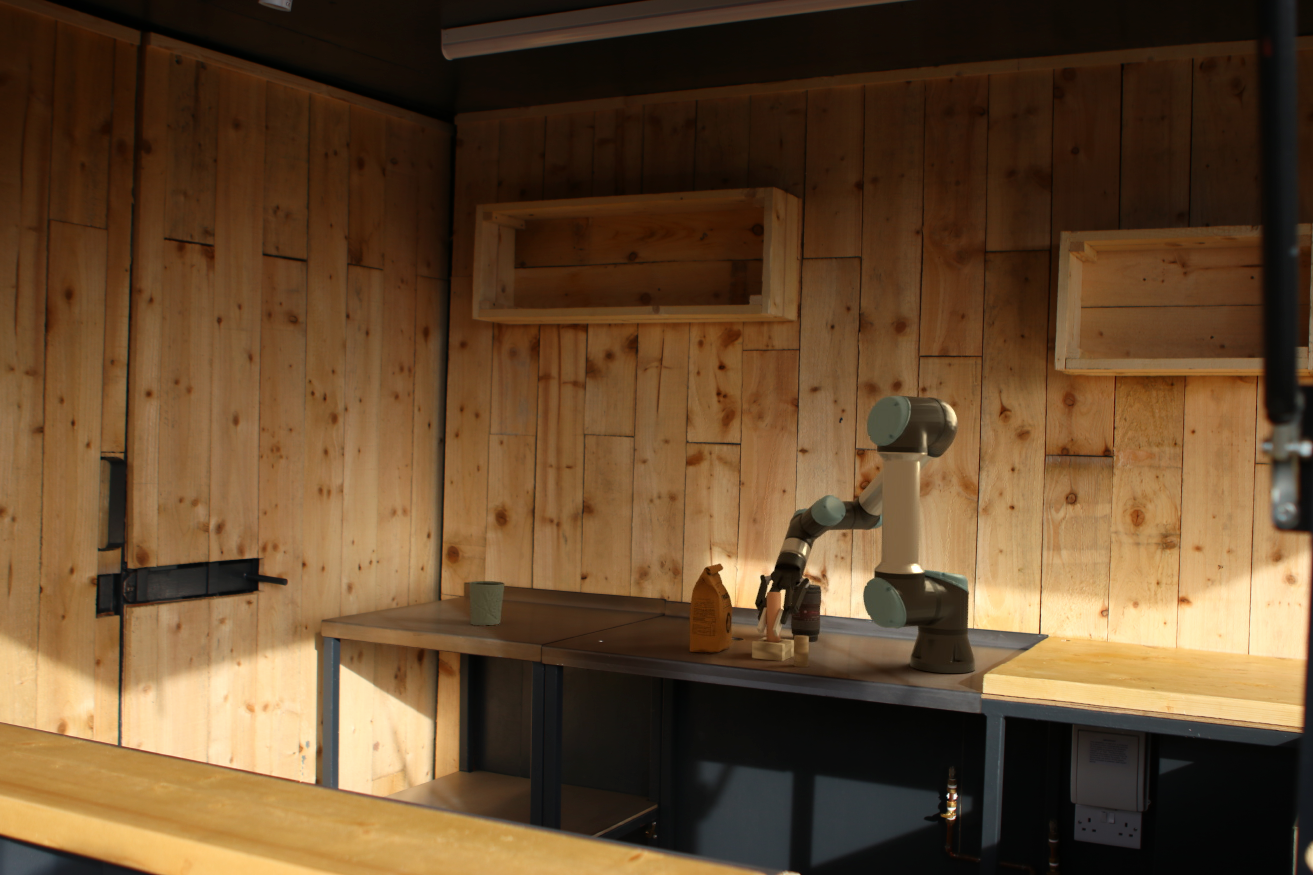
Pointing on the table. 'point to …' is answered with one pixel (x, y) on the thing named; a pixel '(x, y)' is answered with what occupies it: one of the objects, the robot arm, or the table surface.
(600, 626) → the table surface
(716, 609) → the coffee package
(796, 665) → the short dowel
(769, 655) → the collar block
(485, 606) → the green plant pot
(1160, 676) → the table surface
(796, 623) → the camera lens
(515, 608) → the table surface
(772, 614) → the long dowel
